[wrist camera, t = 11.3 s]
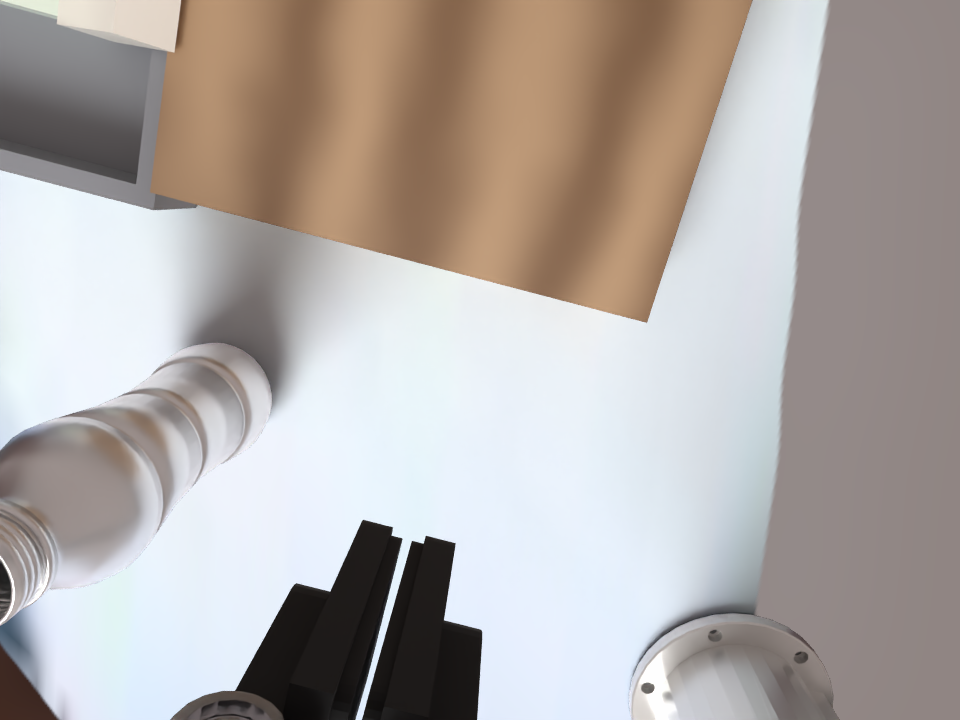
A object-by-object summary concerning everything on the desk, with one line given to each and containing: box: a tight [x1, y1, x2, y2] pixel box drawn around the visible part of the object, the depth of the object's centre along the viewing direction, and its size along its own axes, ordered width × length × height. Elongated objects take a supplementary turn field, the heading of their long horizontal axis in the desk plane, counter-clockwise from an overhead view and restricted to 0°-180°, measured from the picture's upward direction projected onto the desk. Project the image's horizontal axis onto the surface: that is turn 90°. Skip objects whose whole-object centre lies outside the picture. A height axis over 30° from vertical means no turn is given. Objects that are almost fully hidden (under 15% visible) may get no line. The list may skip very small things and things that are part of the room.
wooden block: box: [150, 0, 752, 323], centre depth 31 cm, size 24×20×6 cm
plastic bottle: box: [0, 343, 272, 625], centre depth 30 cm, size 6×7×20 cm
